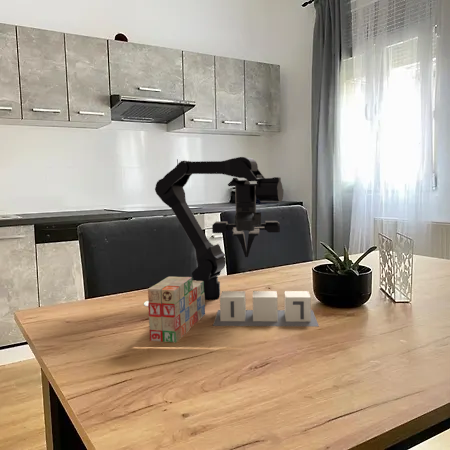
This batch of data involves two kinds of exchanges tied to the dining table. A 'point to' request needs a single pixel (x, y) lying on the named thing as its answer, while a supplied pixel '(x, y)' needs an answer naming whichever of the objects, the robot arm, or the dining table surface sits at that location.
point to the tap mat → (250, 321)
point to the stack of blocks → (174, 307)
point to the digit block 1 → (232, 306)
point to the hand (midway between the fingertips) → (246, 257)
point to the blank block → (265, 306)
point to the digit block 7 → (297, 306)
